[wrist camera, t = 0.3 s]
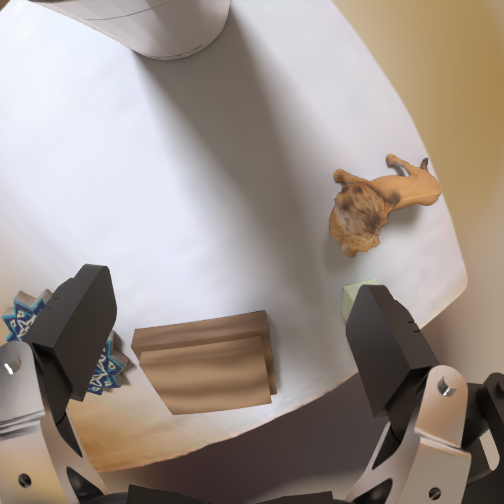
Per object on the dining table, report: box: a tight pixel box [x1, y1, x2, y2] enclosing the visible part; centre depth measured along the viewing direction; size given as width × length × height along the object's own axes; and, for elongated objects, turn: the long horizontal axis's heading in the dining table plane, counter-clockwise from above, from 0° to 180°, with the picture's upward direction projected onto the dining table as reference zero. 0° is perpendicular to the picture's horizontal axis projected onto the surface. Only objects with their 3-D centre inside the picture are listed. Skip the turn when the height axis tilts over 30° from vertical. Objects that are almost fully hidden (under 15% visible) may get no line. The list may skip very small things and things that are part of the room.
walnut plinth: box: [131, 310, 277, 415], centre depth 35 cm, size 14×16×5 cm
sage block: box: [341, 279, 381, 323], centre depth 30 cm, size 4×4×10 cm
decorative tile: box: [2, 289, 129, 395], centre depth 33 cm, size 20×20×2 cm
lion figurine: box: [329, 154, 442, 258], centre depth 23 cm, size 15×5×9 cm, turn 115°
